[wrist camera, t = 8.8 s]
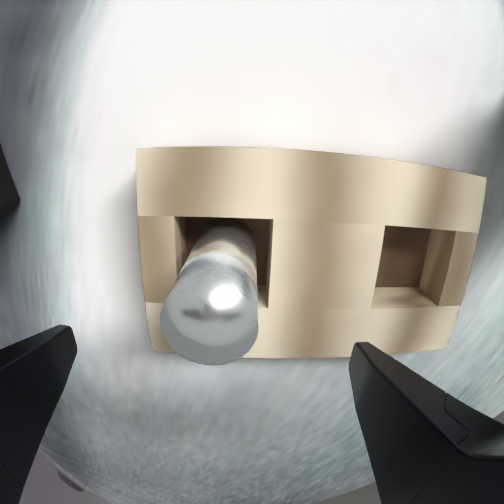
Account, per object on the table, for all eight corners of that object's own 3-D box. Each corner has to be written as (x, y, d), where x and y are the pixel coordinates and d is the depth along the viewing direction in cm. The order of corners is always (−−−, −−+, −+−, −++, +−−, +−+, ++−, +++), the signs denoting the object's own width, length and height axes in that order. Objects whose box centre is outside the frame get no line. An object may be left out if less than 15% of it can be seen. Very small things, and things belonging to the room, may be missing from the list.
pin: (256, 218, 19) (260, 283, 10) (254, 272, 20) (256, 366, 11) (197, 217, 19) (155, 280, 10) (199, 271, 20) (165, 361, 11)
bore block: (452, 170, 19) (486, 177, 15) (423, 321, 22) (445, 348, 19) (158, 147, 18) (136, 148, 15) (166, 318, 22) (152, 351, 18)
